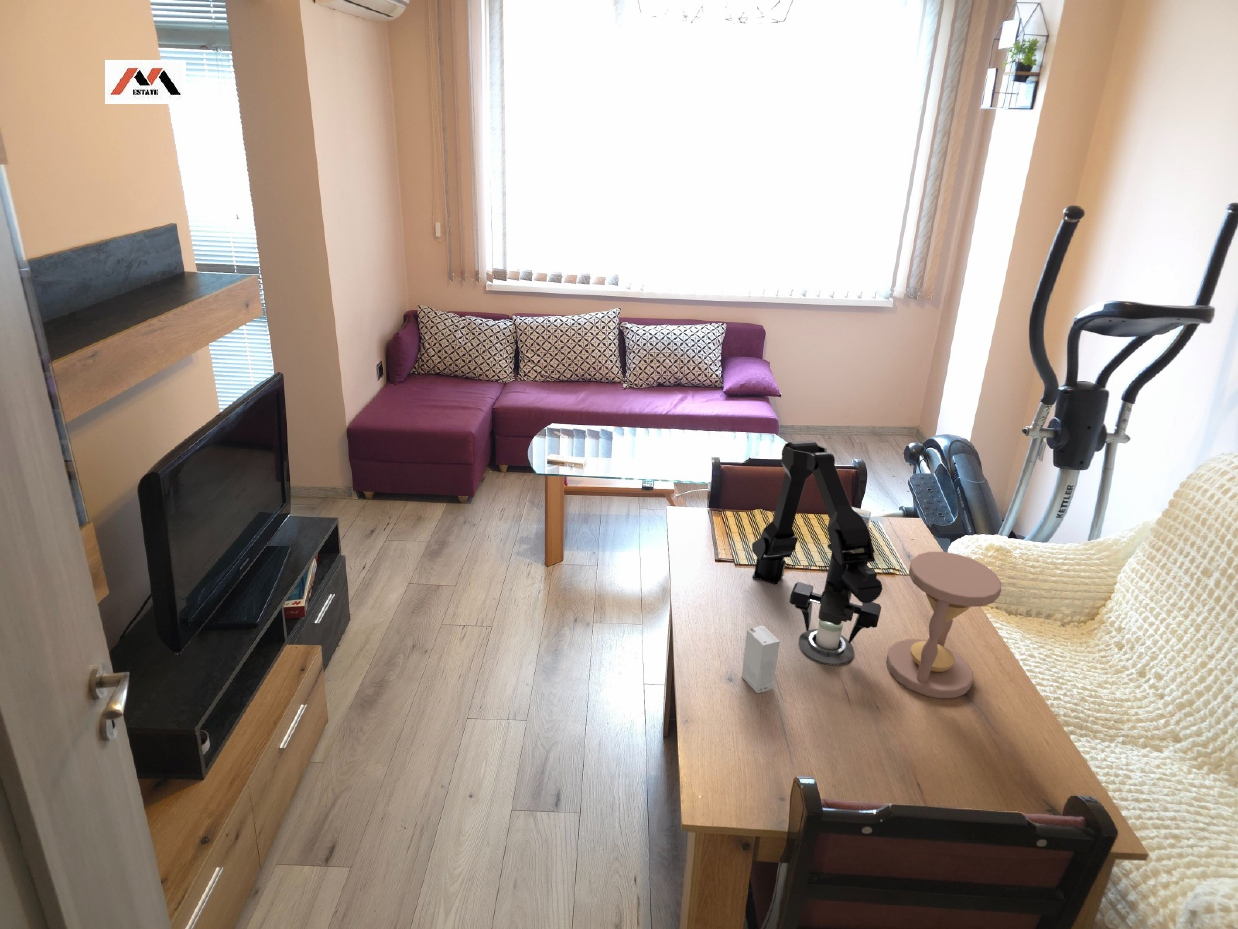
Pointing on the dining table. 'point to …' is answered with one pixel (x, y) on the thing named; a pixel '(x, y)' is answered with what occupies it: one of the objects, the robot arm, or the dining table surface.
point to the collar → (822, 655)
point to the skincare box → (760, 659)
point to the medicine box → (863, 514)
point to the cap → (828, 635)
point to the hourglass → (942, 623)
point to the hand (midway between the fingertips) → (828, 636)
